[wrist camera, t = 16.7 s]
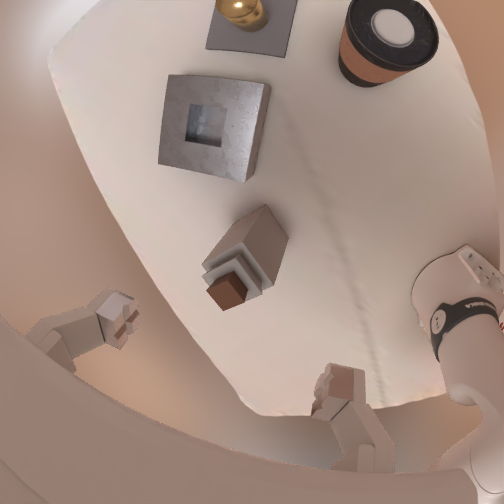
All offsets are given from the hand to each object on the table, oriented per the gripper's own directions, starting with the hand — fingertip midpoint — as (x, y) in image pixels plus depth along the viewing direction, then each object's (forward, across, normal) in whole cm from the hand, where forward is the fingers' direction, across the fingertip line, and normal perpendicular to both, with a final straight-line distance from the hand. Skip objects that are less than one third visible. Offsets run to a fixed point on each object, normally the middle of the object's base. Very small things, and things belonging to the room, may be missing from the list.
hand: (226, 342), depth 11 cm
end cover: (+33, +12, -22) cm, 41 cm away
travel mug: (+34, -5, -18) cm, 39 cm away
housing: (+34, +14, -4) cm, 37 cm away
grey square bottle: (+34, +4, +12) cm, 37 cm away
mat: (+34, +12, -22) cm, 42 cm away
